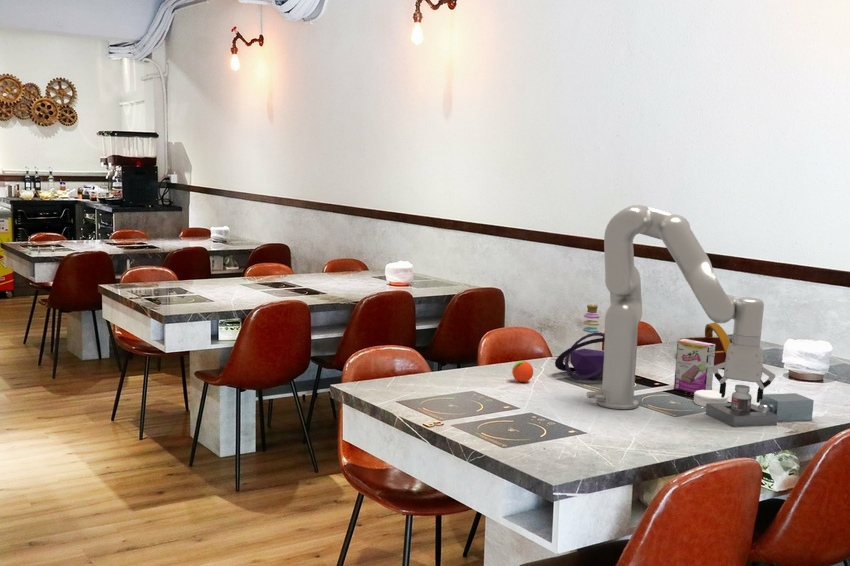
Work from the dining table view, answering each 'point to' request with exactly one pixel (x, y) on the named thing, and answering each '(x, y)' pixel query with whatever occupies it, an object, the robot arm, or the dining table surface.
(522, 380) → the clementine
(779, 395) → the grey tray with housing
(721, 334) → the decorative basket
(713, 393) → the white round disc
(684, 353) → the candy bar box
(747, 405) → the pill bottle
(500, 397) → the dining table surface
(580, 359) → the decorative bottle
